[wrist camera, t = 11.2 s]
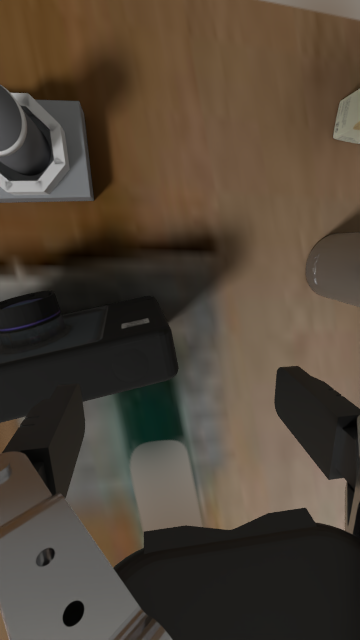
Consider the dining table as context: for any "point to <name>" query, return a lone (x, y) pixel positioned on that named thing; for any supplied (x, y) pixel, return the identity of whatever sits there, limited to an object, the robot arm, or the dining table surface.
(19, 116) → the lens
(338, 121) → the skincare box
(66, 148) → the mount block
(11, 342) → the camera
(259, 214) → the dining table surface
